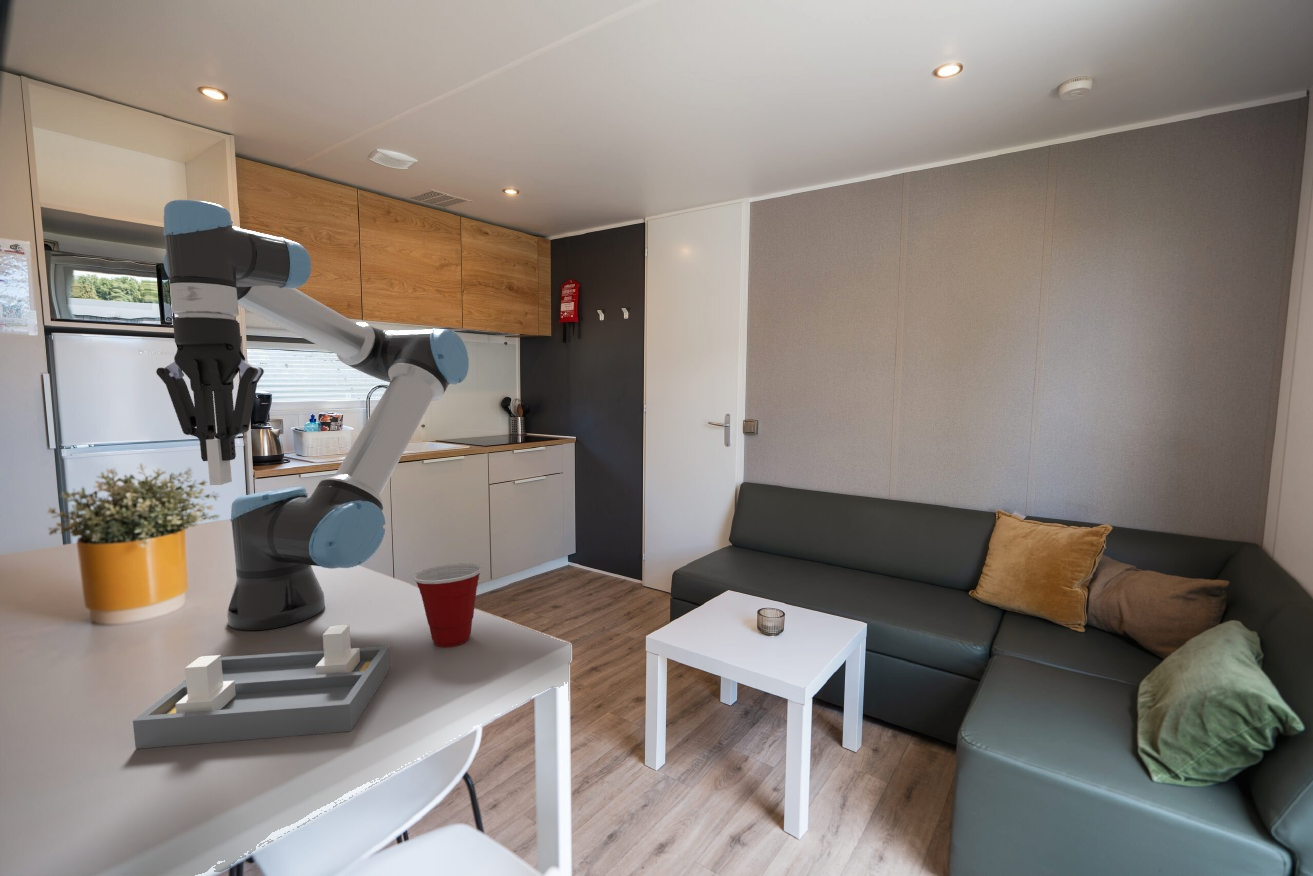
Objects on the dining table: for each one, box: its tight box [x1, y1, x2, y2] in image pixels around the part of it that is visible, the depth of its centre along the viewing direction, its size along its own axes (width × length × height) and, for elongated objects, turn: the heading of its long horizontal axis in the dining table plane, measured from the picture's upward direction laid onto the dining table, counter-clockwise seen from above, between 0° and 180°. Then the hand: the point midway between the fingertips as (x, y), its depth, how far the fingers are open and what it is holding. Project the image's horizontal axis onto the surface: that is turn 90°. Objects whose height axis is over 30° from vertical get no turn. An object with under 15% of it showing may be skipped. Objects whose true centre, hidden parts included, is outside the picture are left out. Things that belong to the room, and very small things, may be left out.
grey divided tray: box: [132, 645, 391, 750], centre depth 80 cm, size 16×24×4 cm, turn 98°
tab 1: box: [176, 654, 236, 713], centre depth 75 cm, size 5×4×6 cm
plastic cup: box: [412, 562, 483, 648], centre depth 99 cm, size 11×11×12 cm
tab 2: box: [315, 624, 360, 674], centre depth 84 cm, size 5×4×6 cm
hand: (221, 483), depth 86 cm, fingers closed
